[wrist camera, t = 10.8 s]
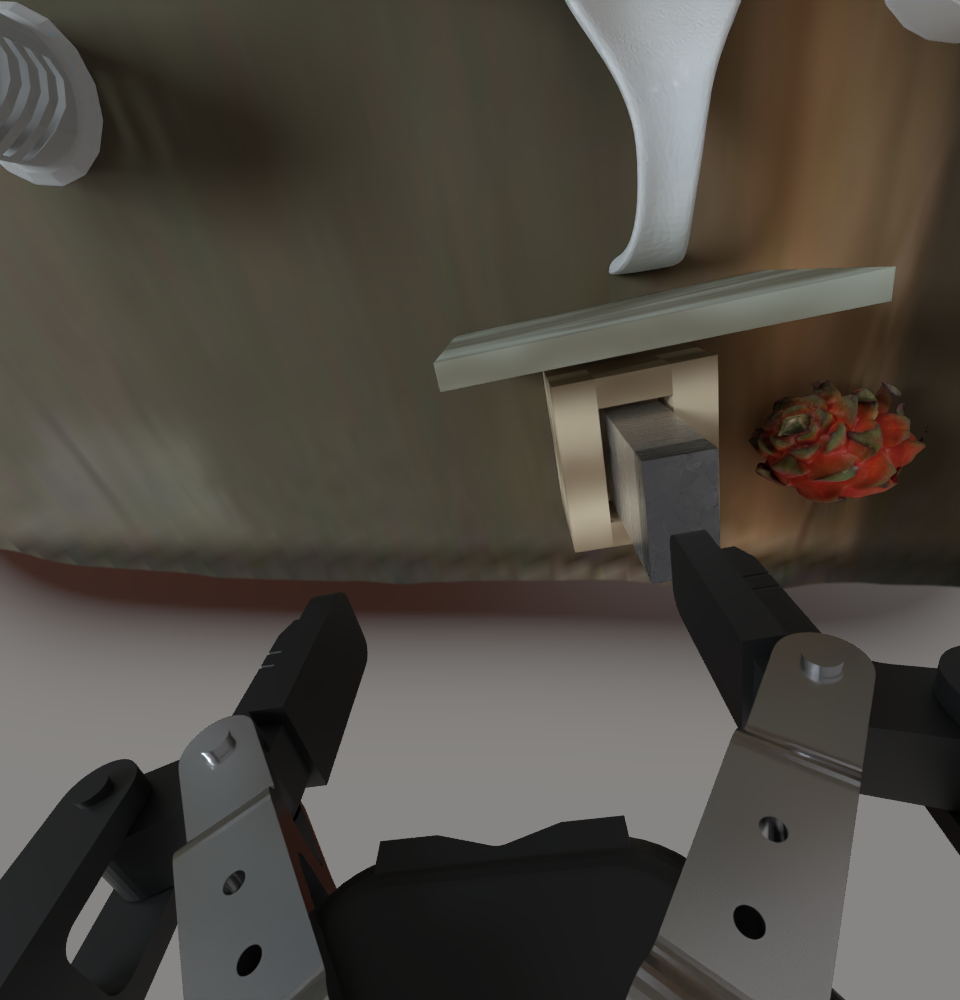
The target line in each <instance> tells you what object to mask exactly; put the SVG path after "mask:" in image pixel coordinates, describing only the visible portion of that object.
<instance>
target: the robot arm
mask: <svg viewBox="0 0 960 1000" xmlns="http://www.w3.org/2000/svg"><path fill="white" fill-rule="evenodd" d="M670 555H671V569H672V582H673V592H674V598H675V602H676V606H677V609H678V612H679V614H680V616H681V618H682V620H683V622H684V624H685V626H686V628H687V630H688V632H689V634H690V636H691V638H692V640H693V642H694V644H695V645H696V647H697V649H698V651H699V653H700V655H701V657H702V659H703V661H704V663H705V665H706V667H707V669H708V670H709V673H710V674H711V676H712V678H713V680H714V682H715V684H716V686H717V688H718V690H719V692H720V694H721V696H722V697H723V700H724V701H725V703H726V705H727V707H728V709H729V711H730V713H731V715H732V717H733V719H734V721H735V723H736V725H737V727H738V728H737V729H736V730H735V732H734V734H733V736H732V738H731V740H730V743H729V746H728V748H727V751H726V754H725V756H724V759H723V762H722V765H721V767H720V770H719V773H718V775H717V778H716V781H715V784H714V786H713V789H712V792H711V794H710V797H709V799H708V802H707V805H706V808H705V810H704V813H703V816H702V818H701V821H700V824H699V826H698V829H697V832H696V835H695V837H694V840H693V843H692V846H691V848H690V851H689V853H688V856H687V858H685V857H683V856H682V855H680V854H678V853H677V852H675V851H672V850H670V849H668V848H666V847H663V846H661V845H658V844H655V843H652V842H649V841H646V840H642V839H637V838H632V837H629V835H628V830H627V826H626V822H625V817H624V816H615V817H605V818H596V819H586V820H577V821H568V822H560V823H558V824H555V825H553V826H551V827H548V828H545V829H543V830H540V831H538V832H535V833H533V834H530V835H528V836H525V837H523V838H520V839H517V840H515V841H513V842H510V843H507V844H505V845H501V846H490V845H485V844H480V843H475V842H470V841H464V840H459V839H454V838H449V837H443V836H438V835H436V836H426V837H417V838H407V839H399V840H389V841H381V842H380V846H379V851H378V856H377V861H376V865H373V866H371V867H369V868H367V869H365V870H363V871H362V872H360V873H358V874H356V875H355V876H353V877H352V878H351V879H349V880H348V881H346V882H345V883H343V884H342V885H341V886H340V887H338V888H336V886H335V884H334V881H333V879H332V877H331V874H330V872H329V869H328V867H327V864H326V861H325V858H324V856H323V853H322V851H321V848H320V846H319V843H318V840H317V838H316V835H315V832H314V830H313V827H312V825H311V822H310V819H309V817H308V814H307V812H306V809H305V807H304V805H303V804H302V802H301V798H302V796H303V793H304V790H305V788H307V787H315V786H323V785H327V783H328V780H329V777H330V774H331V771H332V767H333V764H334V761H335V758H336V755H337V752H338V749H339V746H340V743H341V740H342V736H343V734H344V730H345V728H346V725H347V721H348V718H349V715H350V712H351V709H352V706H353V703H354V699H355V697H356V694H357V691H358V688H359V685H360V682H361V679H362V675H363V672H364V669H365V666H366V662H367V644H366V640H365V637H364V635H363V632H362V630H361V628H360V625H359V623H358V621H357V618H356V616H355V614H354V611H353V609H352V606H351V604H350V602H349V599H348V597H347V596H346V595H345V594H344V593H342V592H339V593H334V594H328V595H322V596H316V597H313V598H311V600H310V601H309V603H308V604H307V607H306V608H305V610H304V612H303V613H302V615H301V617H300V619H299V620H295V621H293V622H292V624H291V625H289V626H288V627H287V628H286V629H285V630H284V631H283V632H282V633H281V634H280V635H279V636H278V638H277V640H276V642H275V643H274V645H273V647H272V648H271V650H270V655H267V657H266V659H265V660H264V662H263V664H262V665H261V666H262V669H259V671H258V672H257V674H256V676H255V677H254V679H253V681H252V683H251V684H250V686H249V688H248V689H247V691H246V693H245V694H244V696H243V698H242V700H241V701H240V703H239V705H238V707H237V708H236V710H235V712H234V713H233V715H232V716H229V717H226V718H223V719H221V720H218V721H217V722H215V723H213V724H211V725H210V726H208V727H207V728H205V729H204V730H203V731H202V732H200V733H199V734H198V735H197V736H196V737H195V738H194V739H193V740H192V741H191V742H190V743H189V745H188V746H187V747H186V749H185V750H184V752H183V754H182V756H181V758H180V760H178V761H175V762H173V763H170V764H168V765H165V766H163V767H161V768H158V769H156V770H153V771H151V772H148V773H146V774H143V773H142V771H141V770H140V769H139V767H138V766H137V765H136V764H135V763H134V762H133V761H131V760H129V759H122V760H116V761H113V762H110V763H108V764H106V765H103V766H101V767H100V768H98V769H96V770H94V771H93V772H91V773H90V774H88V775H87V776H85V777H84V778H83V779H82V780H80V781H79V782H78V783H77V784H76V785H75V786H73V787H72V788H71V789H70V790H69V792H68V793H67V794H66V795H65V796H64V797H63V798H62V800H61V801H60V802H59V803H58V805H57V806H56V807H55V809H54V810H53V811H52V813H51V814H50V815H49V817H48V818H47V819H46V821H45V822H44V823H43V825H42V826H41V827H40V828H39V830H38V831H37V832H36V834H35V835H34V836H33V838H32V839H31V840H30V841H29V843H28V844H27V845H26V847H25V848H24V849H23V851H22V852H21V853H20V855H19V856H18V857H17V858H16V860H15V861H14V863H13V864H12V865H11V866H10V868H9V869H8V870H7V872H6V873H5V874H4V876H3V877H2V878H1V880H0V1000H144V999H145V997H146V994H147V992H148V990H149V987H150V985H151V983H152V981H153V979H154V976H155V974H156V972H157V969H158V967H159V965H160V962H161V960H162V958H163V956H164V953H165V951H166V949H167V947H168V944H169V942H170V940H171V938H172V935H173V933H174V931H175V929H176V926H177V924H178V935H179V948H180V960H181V971H182V984H183V997H184V1000H845V999H844V998H843V997H842V996H840V995H839V994H838V993H837V992H836V991H835V990H834V989H833V988H832V982H833V975H834V968H835V961H836V954H837V947H838V940H839V932H840V926H841V918H842V912H843V905H844V897H845V890H846V883H847V877H848V870H849V862H850V856H851V848H852V841H853V834H854V827H855V820H856V813H857V806H858V799H859V794H864V795H870V796H874V797H880V798H885V799H891V800H897V801H902V802H907V803H912V804H918V805H924V806H925V807H926V809H927V810H928V811H929V813H930V814H931V815H932V817H933V818H934V820H935V821H936V823H937V824H938V825H939V827H940V828H941V829H942V831H943V832H944V834H945V835H946V837H947V838H948V839H949V841H950V842H951V844H952V845H953V846H954V848H955V849H956V851H957V852H958V853H959V855H960V646H957V647H954V648H951V649H949V650H947V651H946V652H945V653H944V654H943V655H942V656H941V658H940V660H939V665H938V668H927V667H915V666H904V665H894V664H886V663H879V662H874V661H871V660H870V658H869V657H868V656H867V655H866V654H865V653H864V652H863V651H861V650H860V649H859V648H857V647H856V646H854V645H853V644H851V643H849V642H847V641H845V640H843V639H840V638H838V637H834V636H831V635H827V634H822V633H821V632H820V631H819V630H818V629H817V628H816V626H815V625H814V624H813V623H812V622H811V621H810V620H809V618H808V617H807V616H806V615H805V614H804V613H803V612H802V610H801V609H800V608H799V607H798V606H797V605H796V604H795V602H794V601H793V600H792V599H791V598H790V597H789V596H788V594H787V593H786V592H785V591H784V590H783V589H782V588H780V587H779V584H778V583H777V582H776V581H775V579H774V578H773V577H772V576H771V575H769V574H768V571H767V570H766V569H765V568H764V567H763V566H762V565H761V563H760V562H759V561H758V560H757V559H756V558H755V557H754V556H752V555H750V554H748V553H746V552H744V551H742V550H740V549H738V548H737V547H735V546H734V547H728V548H722V549H721V548H720V547H719V546H718V544H717V543H716V542H715V541H714V539H713V538H712V537H711V535H710V534H709V533H708V532H707V531H706V530H704V529H703V530H697V531H692V532H686V533H680V534H675V535H671V536H670ZM101 877H103V878H104V879H105V880H106V881H107V882H108V883H109V884H110V885H111V886H112V887H113V888H114V889H113V891H112V893H111V895H110V896H109V898H108V900H107V902H106V903H105V905H104V907H103V909H102V911H101V912H100V914H99V916H98V918H97V919H96V921H95V923H94V925H93V926H92V929H91V930H90V932H89V934H88V935H87V937H86V939H85V941H84V942H83V944H82V946H81V948H80V950H79V951H78V953H77V955H76V956H75V958H74V960H73V962H72V963H71V964H70V963H69V962H68V960H67V957H66V942H67V938H68V935H69V932H70V930H71V927H72V925H73V924H74V922H75V920H76V918H77V917H78V915H79V913H80V912H81V910H82V908H83V907H84V905H85V903H86V902H87V900H88V898H89V897H90V895H91V893H92V892H93V890H94V888H95V887H96V885H97V883H98V882H99V880H100V878H101Z"/></svg>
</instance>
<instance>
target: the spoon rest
mask: <svg viewBox="0 0 960 1000" xmlns="http://www.w3.org/2000/svg"><path fill="white" fill-rule="evenodd" d="M565 2H566V3H567V5H568V7H569V8H570V10H571V12H572V13H573V15H574V16H575V18H576V20H577V21H578V23H579V24H580V26H581V27H582V29H583V30H584V32H585V33H586V35H587V36H588V38H589V39H590V41H591V42H592V44H593V45H594V47H595V48H596V49H597V51H598V52H599V54H600V56H601V57H602V59H603V61H604V62H605V64H606V65H607V67H608V69H609V71H610V72H611V74H612V76H613V78H614V79H615V81H616V83H617V85H618V87H619V89H620V92H621V94H622V96H623V99H624V101H625V104H626V106H627V109H628V112H629V115H630V118H631V121H632V126H633V130H634V135H635V143H636V153H637V175H638V190H637V210H636V218H635V224H634V229H633V233H632V236H631V240H630V242H629V244H628V246H627V248H626V249H625V251H624V252H623V253H622V254H621V255H619V256H618V257H617V258H615V259H614V260H613V261H612V263H611V265H610V267H609V273H610V274H612V275H619V274H627V273H635V272H641V271H647V270H654V269H659V268H665V267H670V266H674V265H676V264H678V263H679V262H681V261H682V260H683V259H684V257H685V253H686V250H687V246H688V241H689V236H690V230H691V224H692V217H693V211H694V205H695V198H696V192H697V186H698V180H699V173H700V167H701V160H702V154H703V146H704V139H705V131H706V124H707V117H708V111H709V104H710V98H711V91H712V86H713V82H714V78H715V74H716V70H717V66H718V63H719V59H720V56H721V53H722V50H723V47H724V45H725V42H726V39H727V36H728V33H729V31H730V28H731V26H732V23H733V21H734V18H735V16H736V13H737V10H738V8H739V5H740V3H741V0H565Z"/></svg>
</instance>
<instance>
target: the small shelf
mask: <svg viewBox="0 0 960 1000" xmlns="http://www.w3.org/2000/svg"><path fill="white" fill-rule="evenodd" d="M895 267H896V266H894V267H860V268H827V269H793V270H760V271H756V272H751V273H747V274H742V275H737V276H733V277H728V278H723V279H719V280H714V281H709V282H705V283H700V284H695V285H691V286H686V287H682V288H677V289H672V290H668V291H663V292H658V293H654V294H649V295H644V296H640V297H635V298H630V299H626V300H621V301H617V302H612V303H607V304H603V305H598V306H593V307H589V308H584V309H579V310H575V311H570V312H566V313H561V314H556V315H552V316H547V317H542V318H538V319H533V320H528V321H524V322H519V323H514V324H510V325H505V326H501V327H496V328H491V329H487V330H482V331H477V332H473V333H468V334H463V335H459V336H456V337H455V338H454V339H453V340H452V341H451V343H450V344H449V345H448V346H447V347H446V349H445V350H444V351H443V352H442V354H441V355H440V356H439V357H438V358H437V360H436V361H435V362H434V368H435V372H436V376H437V380H438V384H439V388H440V392H443V391H447V390H452V389H457V388H462V387H467V386H472V385H477V384H482V383H487V382H492V381H497V380H502V379H507V378H512V377H517V376H522V375H527V374H532V373H537V372H543V378H544V385H545V391H546V398H547V404H548V411H549V417H550V424H551V430H552V437H553V443H554V450H555V456H556V463H557V469H558V476H559V482H560V489H561V495H562V502H563V507H564V511H565V515H566V519H567V522H568V526H569V530H570V534H571V538H572V542H573V545H574V549H575V552H582V551H588V550H594V549H601V548H607V547H614V546H620V545H627V544H632V541H631V539H630V537H629V535H628V533H627V531H626V529H625V527H624V525H623V523H622V521H621V519H620V517H619V515H618V513H617V511H616V509H615V506H614V504H613V502H612V500H611V498H610V496H609V494H608V487H607V479H606V470H605V461H604V453H603V444H602V435H601V427H600V418H599V409H601V408H606V407H611V406H616V405H622V404H627V403H632V402H638V401H643V400H648V399H653V398H655V399H657V400H658V401H659V402H661V403H662V404H663V405H664V406H666V407H667V408H668V409H669V410H671V411H672V412H673V413H674V414H676V415H677V416H678V417H679V418H681V419H682V420H683V421H685V422H686V423H687V424H688V425H690V426H691V427H692V428H693V429H695V430H696V431H697V432H698V433H700V434H701V435H702V436H703V437H705V438H706V439H707V440H708V441H710V442H711V443H712V444H714V445H715V446H716V447H717V448H718V454H719V407H718V355H717V354H714V353H712V352H709V351H706V350H703V349H700V348H698V347H695V346H692V345H689V344H686V343H685V342H690V341H695V340H700V339H705V338H710V337H715V336H720V335H725V334H730V333H735V332H740V331H745V330H750V329H755V328H760V327H765V326H769V325H774V324H779V323H784V322H789V321H794V320H799V319H804V318H809V317H814V316H819V315H824V314H829V313H834V312H839V311H844V310H849V309H854V308H859V307H864V306H869V305H874V304H878V303H883V302H888V301H891V300H892V292H893V284H894V275H895ZM719 517H720V493H719Z"/></svg>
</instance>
